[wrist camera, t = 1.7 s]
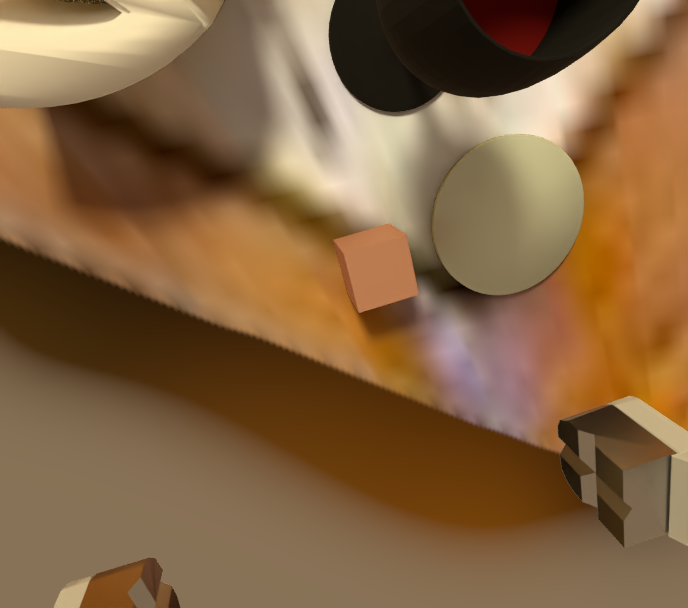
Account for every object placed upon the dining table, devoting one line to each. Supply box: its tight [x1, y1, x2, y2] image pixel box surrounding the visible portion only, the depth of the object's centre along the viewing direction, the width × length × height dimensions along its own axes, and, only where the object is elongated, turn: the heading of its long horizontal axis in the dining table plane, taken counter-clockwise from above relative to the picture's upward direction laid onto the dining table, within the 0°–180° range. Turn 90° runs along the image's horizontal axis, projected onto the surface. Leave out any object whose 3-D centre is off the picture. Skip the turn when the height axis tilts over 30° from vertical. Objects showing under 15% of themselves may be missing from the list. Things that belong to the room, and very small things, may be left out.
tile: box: [432, 134, 584, 295], centre depth 41 cm, size 14×14×1 cm
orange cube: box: [333, 224, 419, 313], centre depth 38 cm, size 5×5×5 cm
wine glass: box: [329, 0, 639, 112], centre depth 25 cm, size 10×10×20 cm
